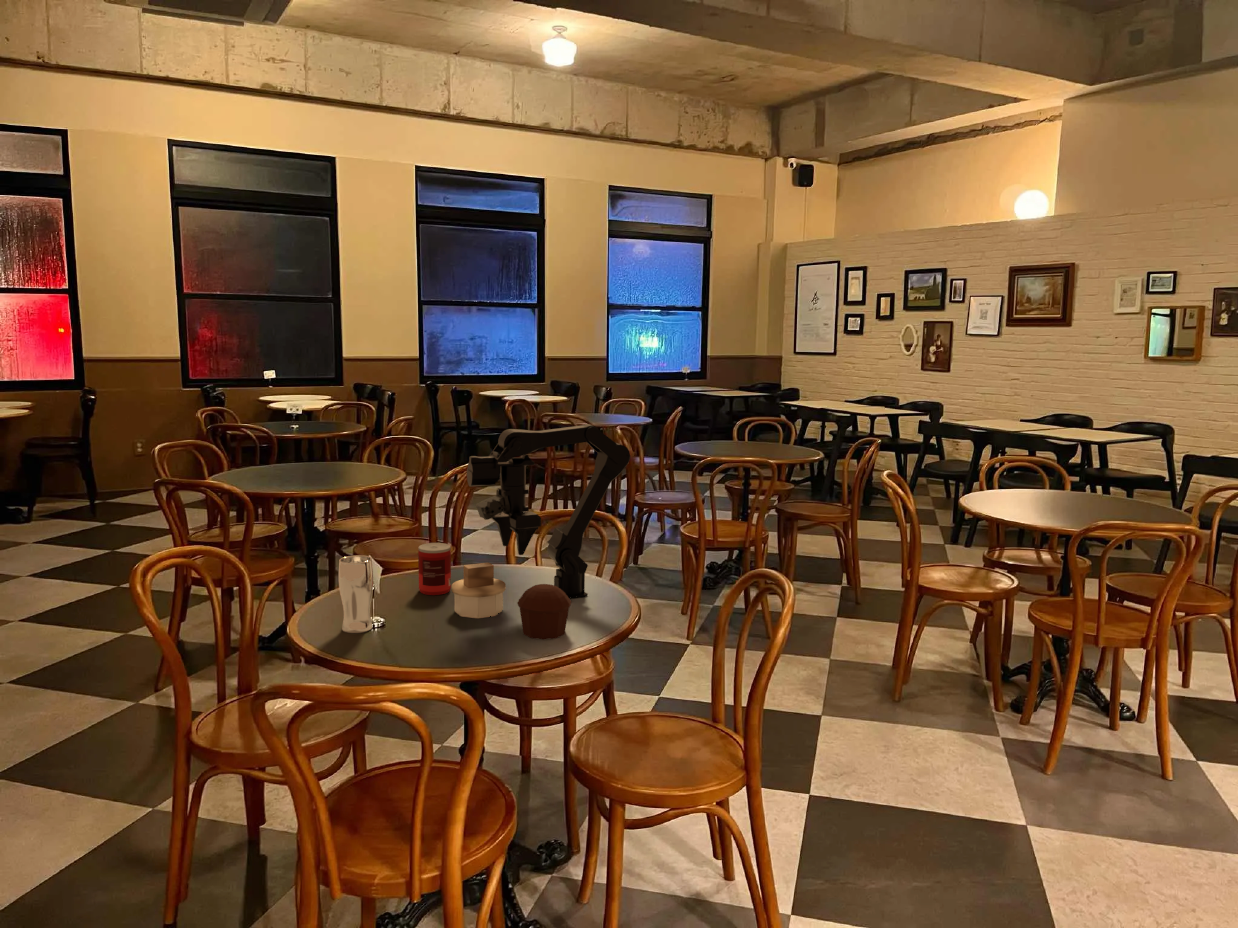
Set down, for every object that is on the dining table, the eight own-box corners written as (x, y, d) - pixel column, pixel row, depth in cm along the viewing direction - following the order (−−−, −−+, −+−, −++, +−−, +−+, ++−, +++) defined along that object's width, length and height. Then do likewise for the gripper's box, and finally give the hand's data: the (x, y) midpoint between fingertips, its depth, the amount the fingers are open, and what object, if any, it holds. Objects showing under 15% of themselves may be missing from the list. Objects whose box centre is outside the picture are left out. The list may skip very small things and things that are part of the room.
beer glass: (381, 625, 187) (379, 556, 185) (361, 635, 180) (359, 564, 178) (353, 621, 189) (351, 553, 187) (333, 631, 183) (330, 561, 180)
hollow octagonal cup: (491, 601, 205) (491, 580, 204) (508, 613, 196) (508, 592, 196) (450, 607, 200) (449, 586, 199) (465, 620, 191) (465, 598, 191)
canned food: (440, 584, 218) (439, 540, 216) (457, 591, 212) (457, 547, 210) (412, 589, 213) (411, 545, 211) (429, 597, 207) (429, 552, 205)
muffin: (511, 626, 188) (511, 581, 187) (560, 620, 192) (561, 576, 191) (526, 644, 177) (526, 596, 176) (578, 638, 182) (579, 592, 180)
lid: (493, 579, 206) (493, 556, 205) (513, 592, 195) (513, 568, 194) (444, 585, 200) (444, 561, 199) (462, 599, 189) (462, 575, 188)
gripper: (465, 480, 206) (466, 545, 209) (495, 493, 190) (495, 563, 193) (509, 477, 212) (509, 540, 214) (542, 490, 196) (541, 558, 198)
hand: (513, 550), depth 205 cm, fingers open, 9 cm apart
